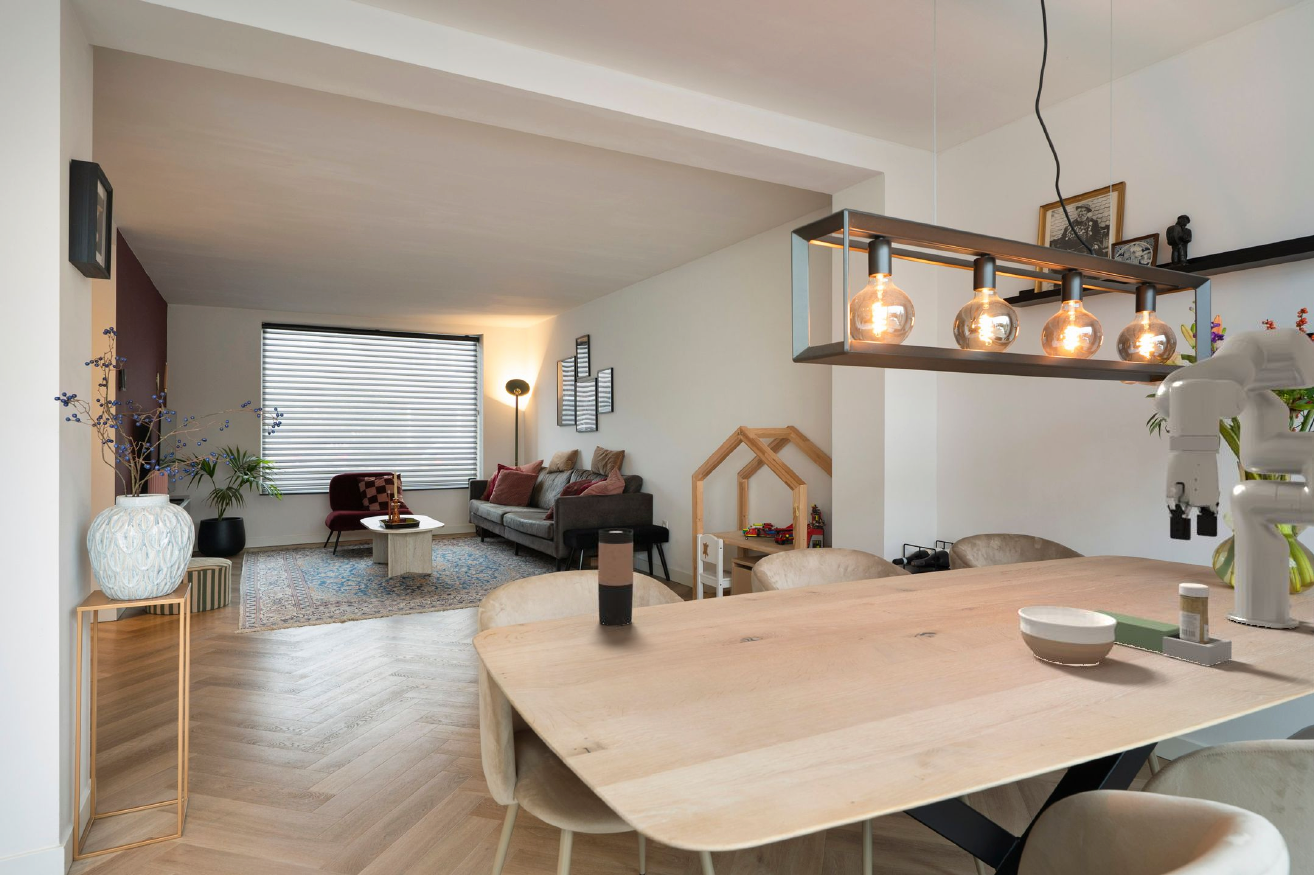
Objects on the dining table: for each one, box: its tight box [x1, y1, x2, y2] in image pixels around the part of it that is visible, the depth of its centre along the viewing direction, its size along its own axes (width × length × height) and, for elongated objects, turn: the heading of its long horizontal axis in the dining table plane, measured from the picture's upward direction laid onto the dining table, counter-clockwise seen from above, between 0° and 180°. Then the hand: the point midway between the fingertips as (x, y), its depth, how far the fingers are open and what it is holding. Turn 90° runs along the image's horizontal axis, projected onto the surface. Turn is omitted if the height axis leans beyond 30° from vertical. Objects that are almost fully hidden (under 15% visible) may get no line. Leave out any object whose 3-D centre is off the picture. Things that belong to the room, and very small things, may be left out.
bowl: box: [1017, 605, 1117, 665], centre depth 137 cm, size 16×16×8 cm
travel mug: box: [597, 527, 634, 626], centre depth 162 cm, size 8×8×20 cm
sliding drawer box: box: [1092, 609, 1233, 666], centre depth 144 cm, size 8×24×4 cm, turn 30°
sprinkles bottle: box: [1178, 582, 1210, 645], centre depth 138 cm, size 5×5×14 cm
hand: (1193, 537), depth 138 cm, fingers open, 9 cm apart
